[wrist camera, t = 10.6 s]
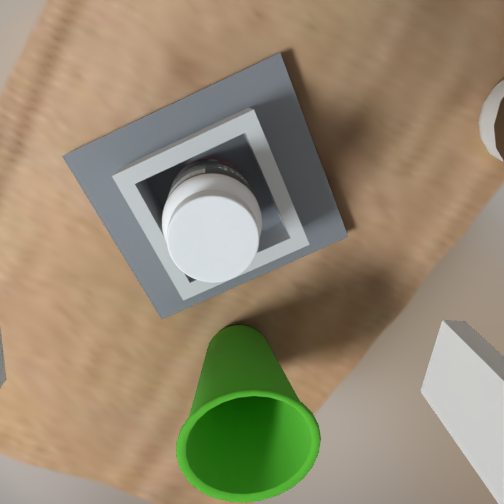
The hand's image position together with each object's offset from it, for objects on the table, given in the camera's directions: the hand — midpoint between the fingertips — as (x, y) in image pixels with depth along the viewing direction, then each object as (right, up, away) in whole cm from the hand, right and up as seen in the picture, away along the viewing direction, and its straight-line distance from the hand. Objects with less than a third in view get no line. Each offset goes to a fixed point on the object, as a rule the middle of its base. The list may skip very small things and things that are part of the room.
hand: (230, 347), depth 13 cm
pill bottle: (-2, +7, +18) cm, 19 cm away
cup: (-1, -5, +24) cm, 24 cm away
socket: (-2, +7, +19) cm, 20 cm away
